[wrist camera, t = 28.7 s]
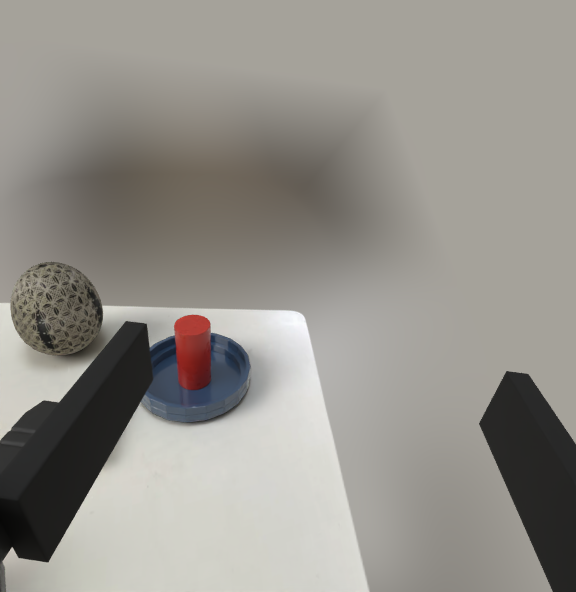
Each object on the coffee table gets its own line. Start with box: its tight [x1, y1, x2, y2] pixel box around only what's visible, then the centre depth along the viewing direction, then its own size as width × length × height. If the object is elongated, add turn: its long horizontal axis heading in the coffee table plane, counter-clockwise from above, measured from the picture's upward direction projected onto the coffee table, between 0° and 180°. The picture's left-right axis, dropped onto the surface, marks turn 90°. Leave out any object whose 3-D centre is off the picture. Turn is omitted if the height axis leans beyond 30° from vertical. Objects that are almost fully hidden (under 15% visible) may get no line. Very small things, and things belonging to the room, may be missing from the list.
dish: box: [141, 333, 250, 422], centre depth 56 cm, size 16×16×4 cm
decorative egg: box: [11, 262, 103, 355], centre depth 57 cm, size 12×12×15 cm
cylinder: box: [174, 315, 211, 390], centre depth 53 cm, size 5×5×10 cm
